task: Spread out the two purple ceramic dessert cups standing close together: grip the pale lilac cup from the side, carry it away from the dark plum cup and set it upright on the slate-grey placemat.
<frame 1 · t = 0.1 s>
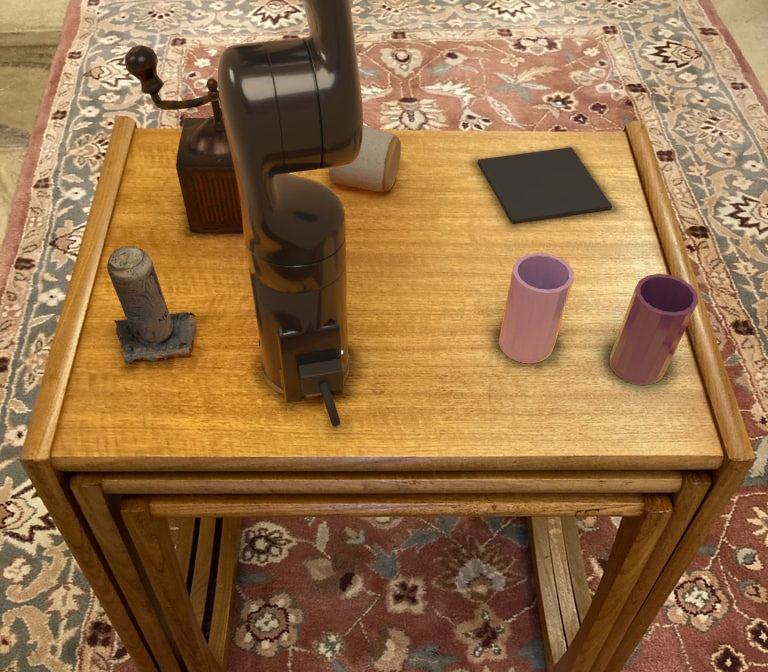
grey post on base: (161, 341, 86), on the table
placemat: (542, 185, 103), on the table
ceramic mug: (366, 179, 104), on the table
plum cup: (637, 364, 85), on the table
manual coffee grinder: (213, 209, 99), on the table
lilac cup: (526, 343, 86), on the table
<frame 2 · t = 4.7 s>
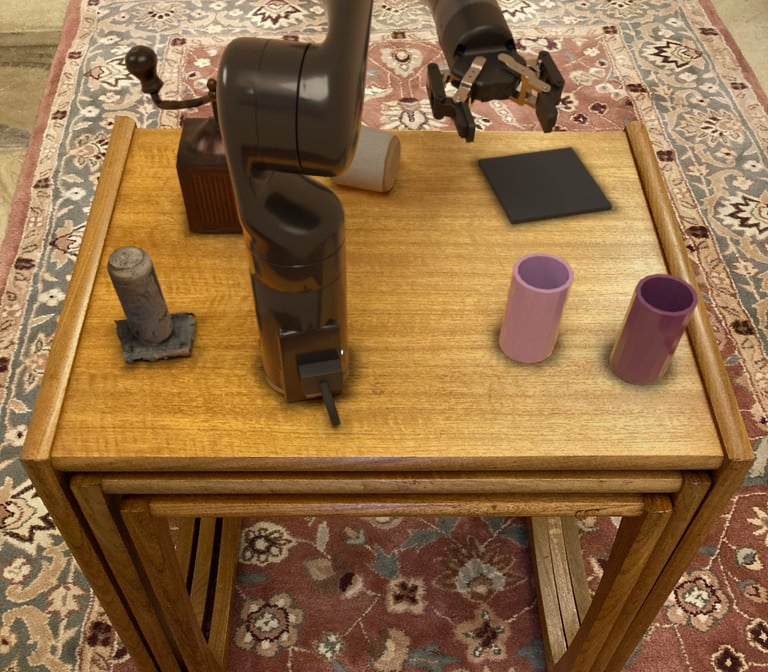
hand: (511, 130, 79), 17 cm above the table, tool horizontal, fingers open, 8 cm apart
nothing on the table moved.
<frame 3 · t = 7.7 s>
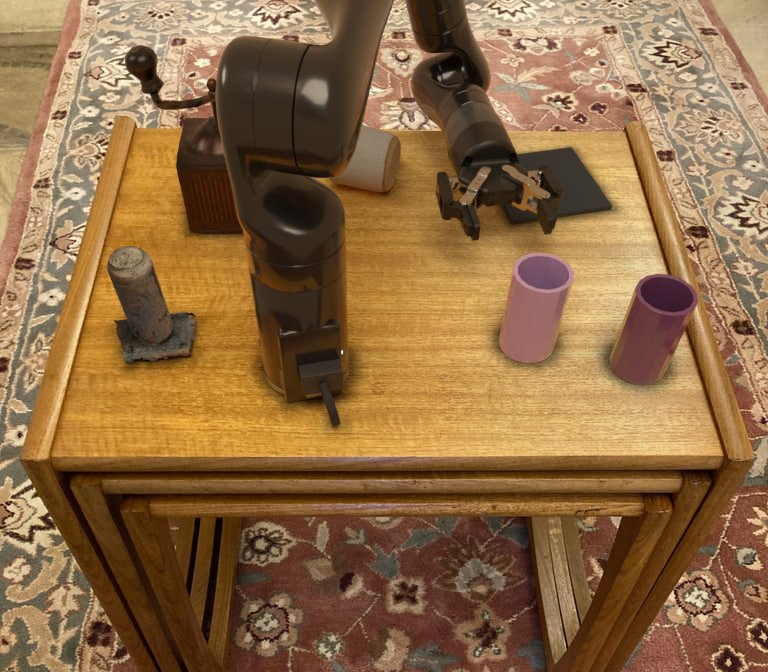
hand: (513, 230, 86), 8 cm above the table, tool horizontal, fingers open, 8 cm apart
nothing on the table moved.
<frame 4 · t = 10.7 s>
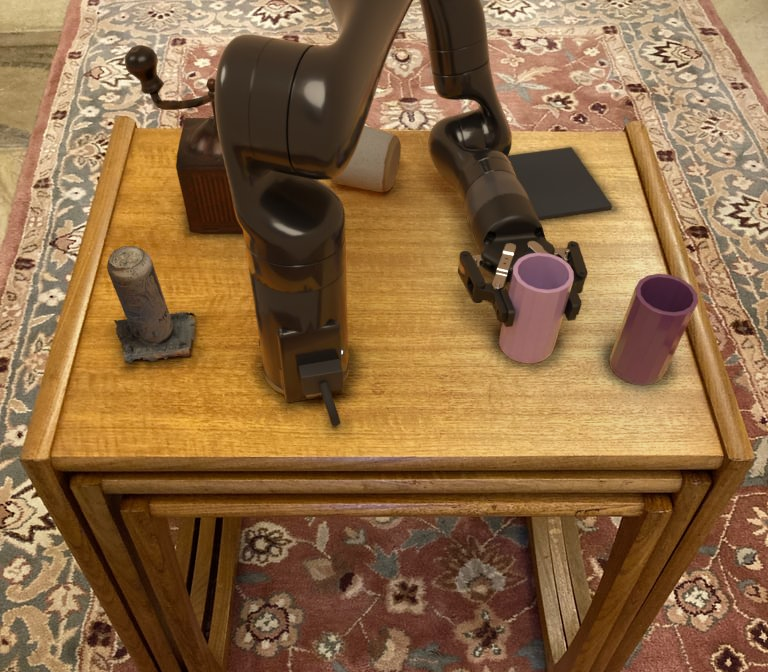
hand: (542, 317, 80), 6 cm above the table, tool horizontal, fingers closed on lilac cup, 6 cm apart
lilac cup: (526, 343, 86), on the table, touching gripper
everything else where it was.
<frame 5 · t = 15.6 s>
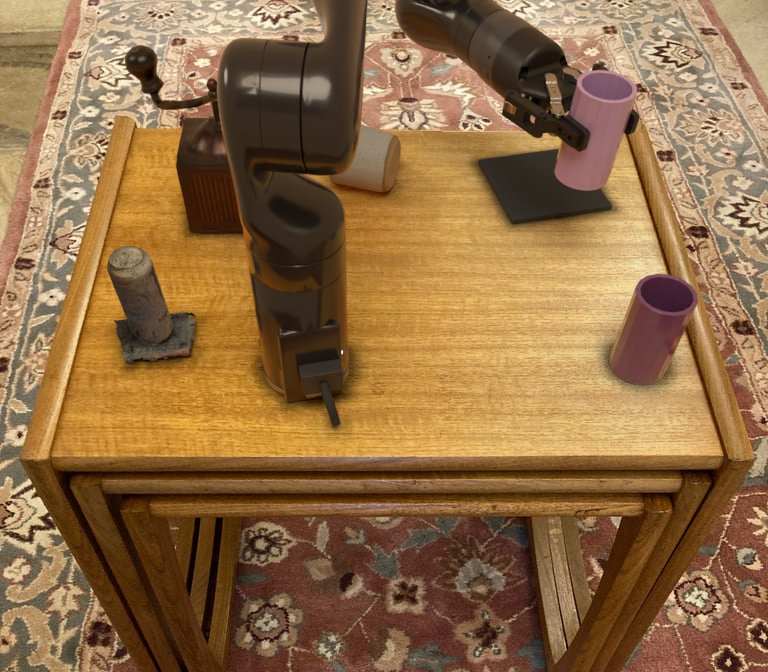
hand: (610, 134, 81), 17 cm above the table, tool horizontal, fingers closed on lilac cup, 6 cm apart
lilac cup: (581, 174, 87), point 11 cm above the table, touching gripper
everything else where it was.
when the fingers open (7 cm above the table, at t = 20.5 s): lilac cup stays where it is, resting on placemat.
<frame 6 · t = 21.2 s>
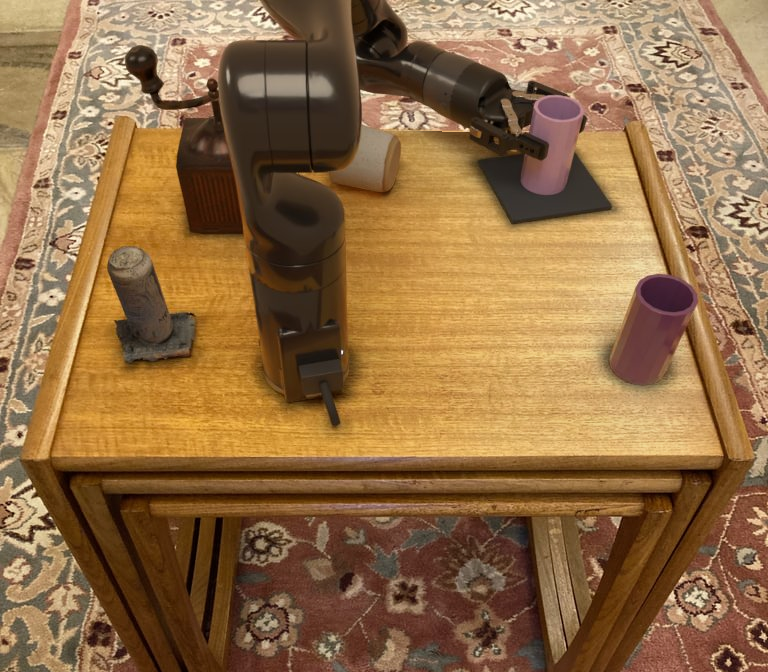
hand: (565, 138, 97), 7 cm above the table, tool horizontal, fingers open, 8 cm apart
lilac cup: (543, 181, 103), point 1 cm above the table, touching placemat
everything else where it was.
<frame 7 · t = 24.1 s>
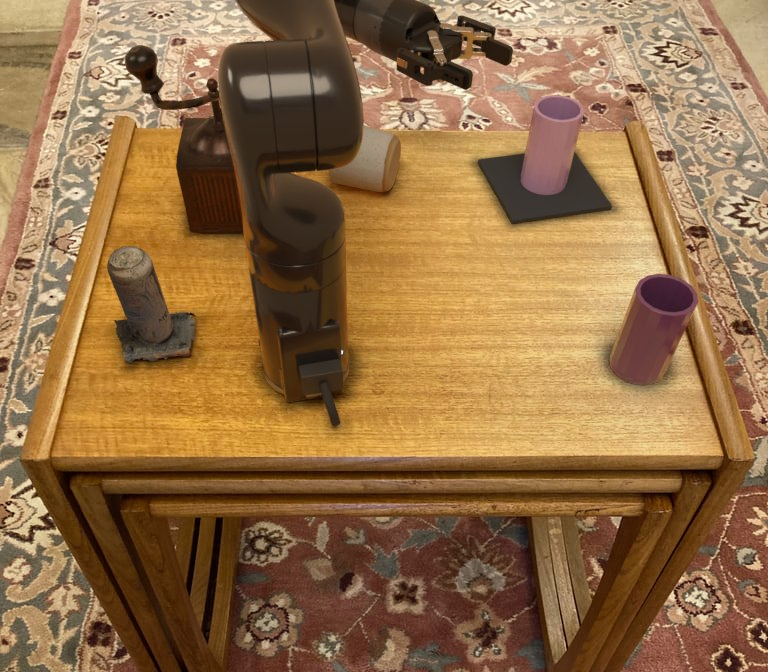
hand: (491, 69, 97), 12 cm above the table, tool horizontal, fingers open, 8 cm apart
nothing on the table moved.
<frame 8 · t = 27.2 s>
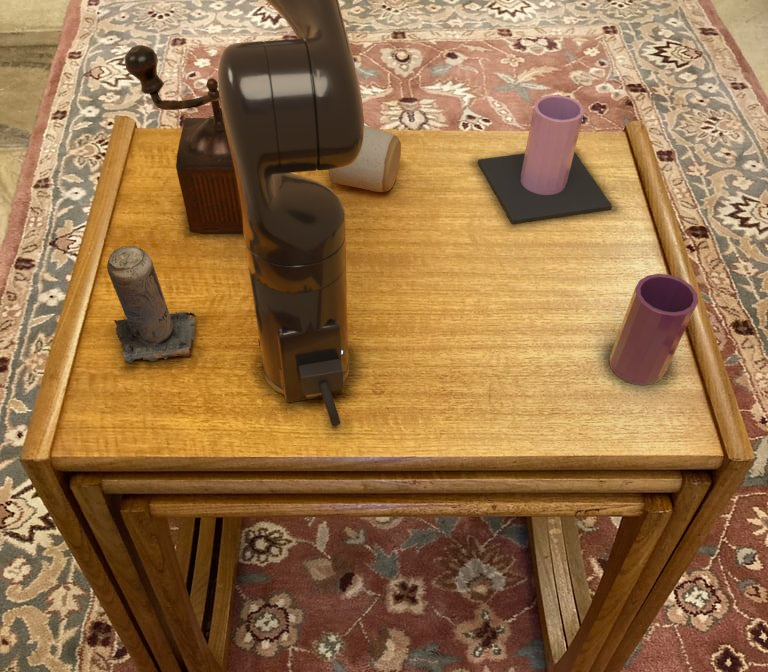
nothing on the table moved.
at the end: lilac cup inside the target area on the placemat (0.1 cm from its centre), point 0.6 cm above the placemat's base; lilac cup tilted 0°; plum cup moved 0.0 cm from its start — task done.
